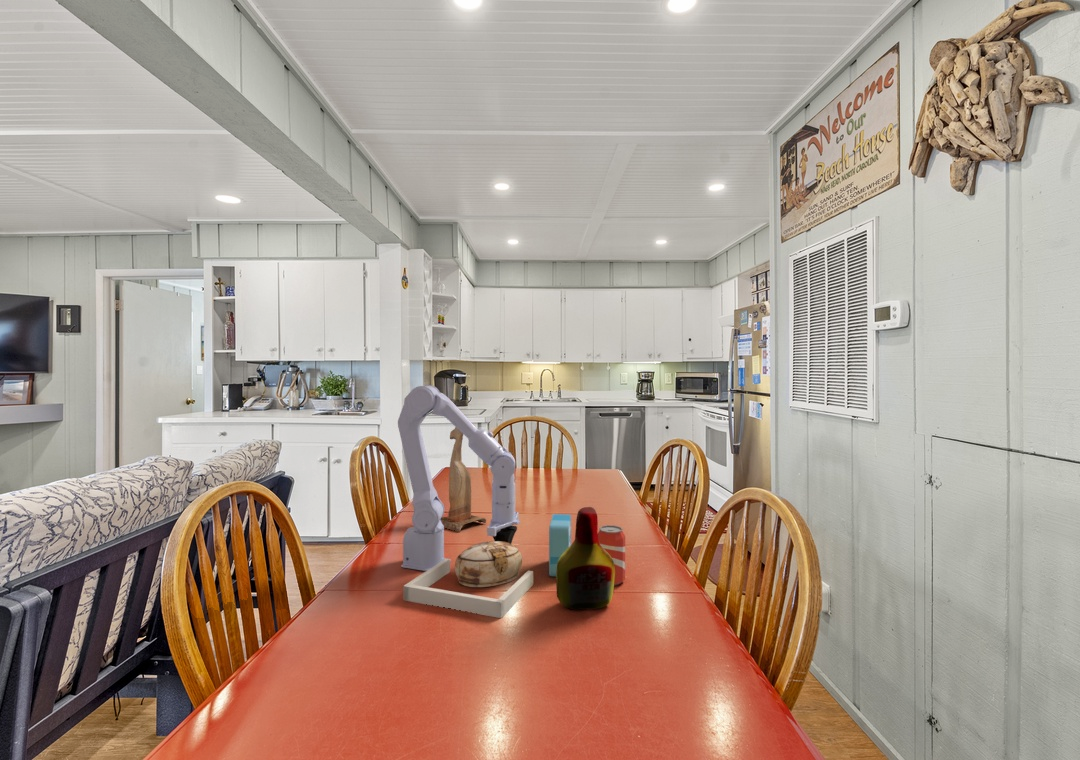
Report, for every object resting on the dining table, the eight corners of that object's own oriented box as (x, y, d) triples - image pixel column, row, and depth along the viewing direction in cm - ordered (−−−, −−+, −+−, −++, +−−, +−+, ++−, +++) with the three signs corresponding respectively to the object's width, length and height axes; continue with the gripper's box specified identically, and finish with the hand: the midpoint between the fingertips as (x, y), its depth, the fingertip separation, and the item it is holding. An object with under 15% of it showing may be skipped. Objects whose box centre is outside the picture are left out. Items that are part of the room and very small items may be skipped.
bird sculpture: (460, 519, 169) (457, 420, 168) (487, 524, 162) (484, 421, 162) (434, 527, 160) (431, 423, 159) (462, 533, 153) (458, 424, 153)
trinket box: (446, 585, 116) (446, 550, 115) (479, 562, 129) (479, 531, 129) (500, 595, 110) (500, 558, 110) (528, 570, 124) (528, 537, 124)
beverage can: (627, 578, 119) (627, 526, 119) (619, 589, 114) (620, 534, 113) (602, 574, 122) (602, 523, 122) (593, 584, 116) (593, 530, 116)
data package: (568, 579, 119) (568, 527, 119) (549, 578, 119) (548, 526, 119) (571, 560, 131) (571, 512, 131) (553, 559, 131) (553, 512, 131)
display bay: (403, 600, 108) (403, 585, 108) (445, 571, 124) (445, 558, 124) (501, 618, 100) (501, 602, 100) (533, 584, 116) (533, 571, 116)
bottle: (612, 599, 109) (612, 503, 108) (617, 613, 102) (617, 512, 102) (555, 599, 109) (555, 504, 108) (556, 613, 102) (556, 512, 102)
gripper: (506, 510, 120) (506, 569, 120) (529, 496, 133) (529, 549, 133) (478, 507, 122) (479, 565, 122) (504, 494, 136) (504, 545, 136)
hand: (503, 556), depth 128 cm, fingers closed
